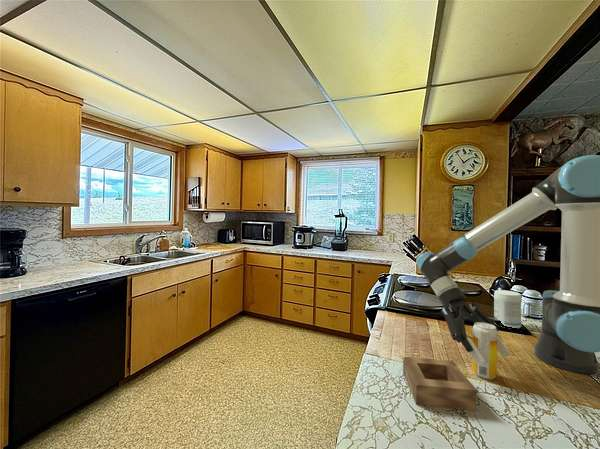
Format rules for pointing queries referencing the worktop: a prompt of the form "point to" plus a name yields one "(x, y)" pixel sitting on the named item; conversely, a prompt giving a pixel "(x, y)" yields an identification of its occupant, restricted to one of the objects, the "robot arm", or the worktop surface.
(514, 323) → the supplement tub
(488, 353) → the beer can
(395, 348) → the worktop surface
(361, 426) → the worktop surface
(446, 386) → the walnut socket holder
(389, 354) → the worktop surface
